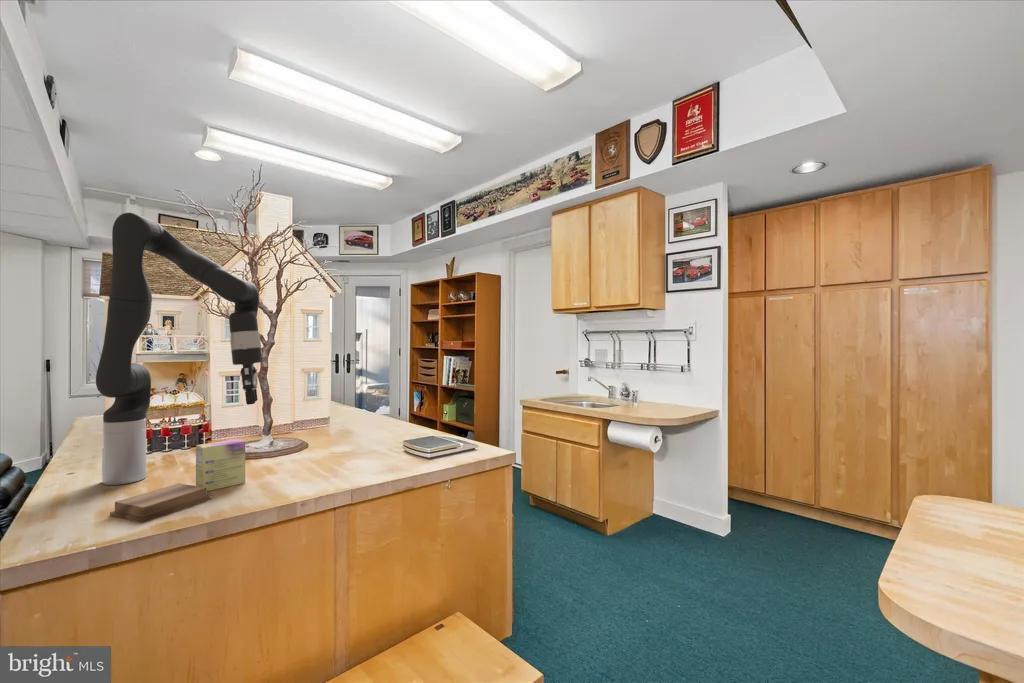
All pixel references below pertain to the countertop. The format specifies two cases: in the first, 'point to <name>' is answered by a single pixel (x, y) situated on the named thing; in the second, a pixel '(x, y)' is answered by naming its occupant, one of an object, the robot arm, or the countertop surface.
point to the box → (220, 464)
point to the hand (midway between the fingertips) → (252, 402)
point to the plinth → (159, 502)
